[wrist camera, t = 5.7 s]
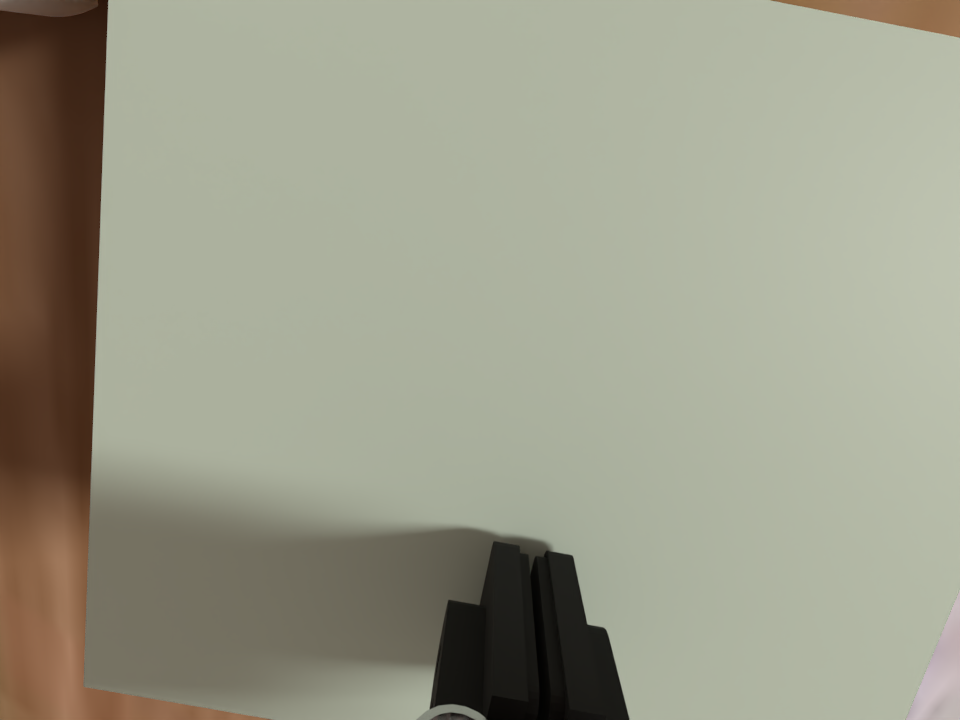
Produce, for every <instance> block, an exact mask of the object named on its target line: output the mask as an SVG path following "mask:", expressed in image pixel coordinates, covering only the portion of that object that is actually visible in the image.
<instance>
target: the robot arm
mask: <svg viewBox="0 0 960 720" xmlns="http://www.w3.org/2000/svg"><path fill="white" fill-rule="evenodd" d="M417 720H630V719H629V715H628V711H627V707H626V703H625V699H624V695H623V691H622V687H621V683H620V679H619V675H618V671H617V667H616V663H615V659H614V655H613V651H612V647H611V644H610V640H609V636H608V633H607V630H606V629H605V628H604V627H599V626H593V625H588V624H587V620H586V615H585V611H584V606H583V601H582V596H581V591H580V586H579V582H578V577H577V572H576V567H575V562H574V558H573V556H572V555H569V554H563V553H558V552H552V551H546V552H545V554H544V557H540V556H535V558H534V561H533V565H532V570H531V574H530V565H529V555H528V554H523V553H520V546H519V545H514V544H508V543H502V542H497V541H494V542H493V545H492V549H491V553H490V558H489V563H488V568H487V572H486V577H485V582H484V586H483V591H482V596H481V600H480V605H476V604H471V603H465V602H460V601H454V600H448V603H447V607H446V612H445V617H444V622H443V627H442V632H441V638H440V643H439V649H438V655H437V661H436V667H435V673H434V680H433V687H432V694H431V701H430V708H429V710H427V711H426V712H424V713H423V714H422V715H421V716H420V717H419V718H418V719H417Z"/></svg>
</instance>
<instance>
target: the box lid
mask: <svg viewBox="0 0 960 720" xmlns="http://www.w3.org/2000/svg"><path fill="white" fill-rule="evenodd" d="M494 541H497V542H502V543H508V544H514V545H519V546H520V553H523V554H528V555H529V565H530V574H531V570H532V565H533V561H534V558H535V556H540V557H544V554H545V552H546V551H552V552H558V553H563V554H569V555H572V556H573V558H574V562H575V567H576V572H577V577H578V582H579V586H580V591H581V596H582V601H583V606H584V611H585V615H586V620H587V624H588V625H593V626H599V627H604V628H605V629H606V630H607V633H608V636H609V640H610V644H611V647H612V651H613V655H614V659H615V663H616V667H617V671H618V675H619V679H620V683H621V687H622V691H623V695H624V699H625V703H626V707H627V711H628V715H629V719H630V720H906V718H907V715H908V713H909V710H910V708H911V706H912V703H913V701H914V698H915V696H916V694H917V691H918V689H919V686H920V684H921V682H922V679H923V677H924V674H925V672H926V670H927V667H928V665H929V662H930V660H931V658H932V655H933V653H934V650H935V648H936V646H937V643H938V641H939V638H940V636H941V634H942V631H943V629H944V626H945V624H946V622H947V619H948V617H949V614H950V612H951V610H952V607H953V605H954V602H955V600H956V598H957V595H958V593H959V590H960V38H958V37H953V36H948V35H943V34H938V33H933V32H927V31H922V30H917V29H912V28H907V27H902V26H897V25H892V24H887V23H882V22H877V21H872V20H867V19H861V18H856V17H851V16H846V15H841V14H836V13H831V12H826V11H821V10H816V9H811V8H806V7H801V6H795V5H790V4H785V3H780V2H775V1H770V0H108V23H107V51H106V79H105V106H104V134H103V162H102V190H101V217H100V245H99V273H98V300H97V328H96V356H95V384H94V411H93V439H92V467H91V494H90V522H89V550H88V578H87V605H86V633H85V661H84V687H88V688H94V689H100V690H105V691H111V692H117V693H123V694H129V695H134V696H140V697H146V698H152V699H157V700H163V701H169V702H175V703H181V704H186V705H192V706H198V707H204V708H209V709H215V710H221V711H227V712H232V713H238V714H244V715H250V716H256V717H261V718H267V719H273V720H417V719H418V718H419V717H420V716H421V715H422V714H423V713H424V712H426V711H427V710H429V708H430V701H431V694H432V687H433V680H434V673H435V667H436V661H437V655H438V649H439V643H440V638H441V632H442V627H443V622H444V617H445V612H446V607H447V603H448V600H454V601H460V602H465V603H471V604H476V605H480V600H481V596H482V591H483V586H484V582H485V577H486V572H487V568H488V563H489V558H490V553H491V549H492V545H493V542H494Z"/></svg>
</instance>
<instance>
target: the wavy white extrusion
mask: <svg viewBox="0 0 960 720" xmlns="http://www.w3.org/2000/svg"><path fill="white" fill-rule="evenodd" d="M98 6H99V5H98V1H97V0H0V10H1V11H9V12H17V13H25V14H33V15H41V16H49V17H67V16H73V15H78V14H81V13H84V12H87V11H89V10H92V9H94V8H96V7H98Z"/></svg>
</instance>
